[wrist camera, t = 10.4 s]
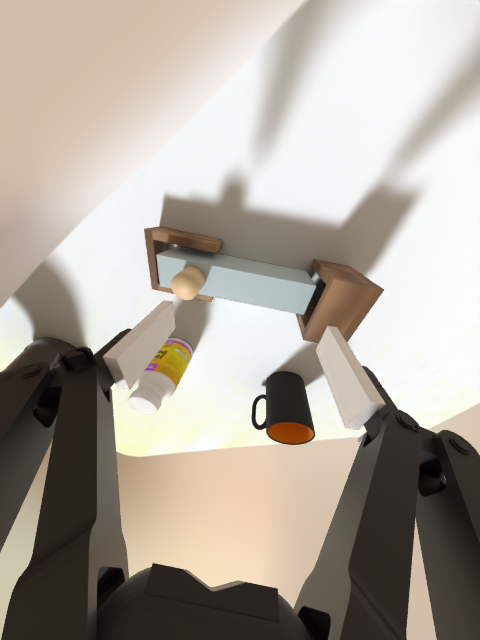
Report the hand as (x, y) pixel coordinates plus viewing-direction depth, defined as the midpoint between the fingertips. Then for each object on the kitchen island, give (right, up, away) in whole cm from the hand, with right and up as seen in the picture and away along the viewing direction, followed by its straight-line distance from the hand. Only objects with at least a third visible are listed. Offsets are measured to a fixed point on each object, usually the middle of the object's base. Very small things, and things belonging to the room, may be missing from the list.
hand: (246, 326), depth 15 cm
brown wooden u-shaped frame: (-8, +9, +11) cm, 17 cm away
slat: (-1, +8, +11) cm, 14 cm away
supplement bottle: (-14, -5, +22) cm, 26 cm away
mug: (+8, -14, +24) cm, 29 cm away
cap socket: (+11, +5, +11) cm, 17 cm away
